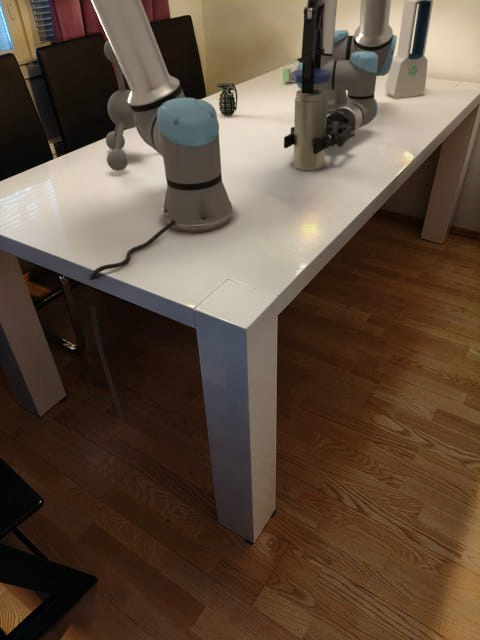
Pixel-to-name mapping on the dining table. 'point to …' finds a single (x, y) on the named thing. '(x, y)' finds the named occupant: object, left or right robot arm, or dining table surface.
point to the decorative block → (289, 71)
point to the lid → (319, 76)
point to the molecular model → (118, 116)
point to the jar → (309, 128)
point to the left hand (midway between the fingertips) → (310, 88)
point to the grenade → (227, 99)
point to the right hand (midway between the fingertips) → (299, 145)
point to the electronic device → (407, 67)
